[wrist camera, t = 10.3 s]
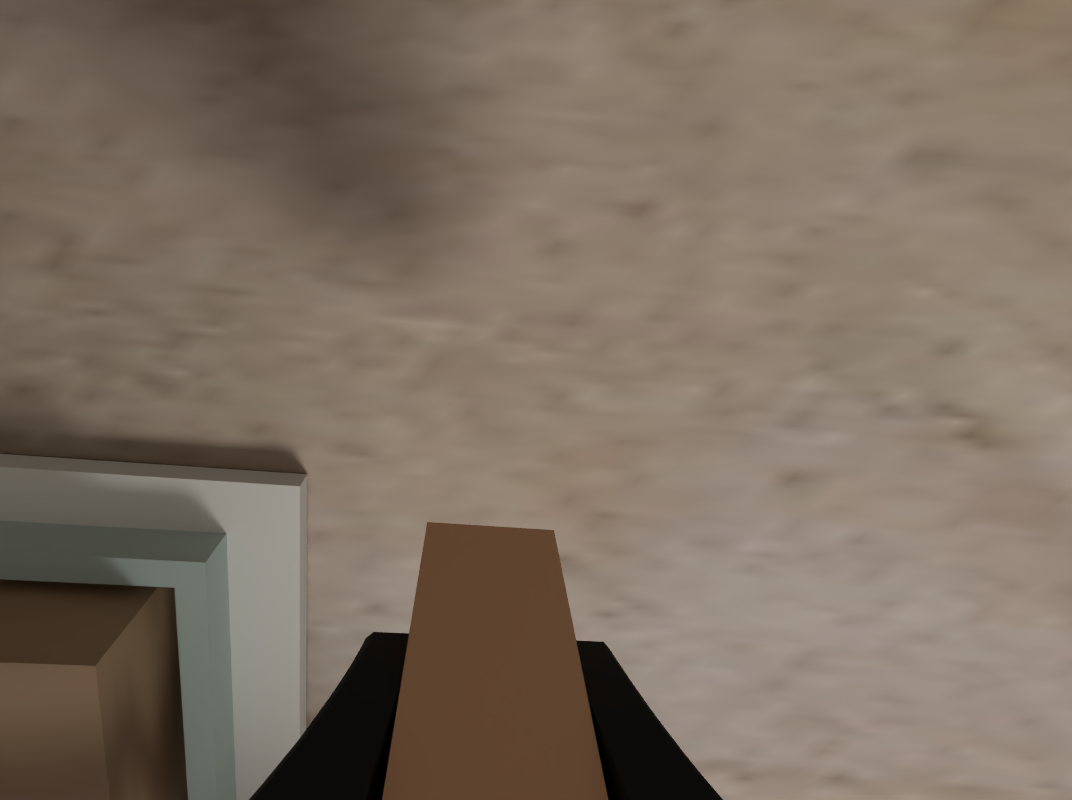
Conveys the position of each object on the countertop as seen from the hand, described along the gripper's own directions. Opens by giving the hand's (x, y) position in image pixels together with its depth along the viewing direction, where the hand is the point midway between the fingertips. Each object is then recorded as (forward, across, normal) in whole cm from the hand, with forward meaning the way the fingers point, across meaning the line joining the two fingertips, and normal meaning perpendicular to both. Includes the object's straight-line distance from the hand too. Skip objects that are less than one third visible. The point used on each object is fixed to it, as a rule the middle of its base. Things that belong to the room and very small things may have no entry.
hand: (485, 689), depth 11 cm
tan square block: (+3, 0, 0) cm, 3 cm away
